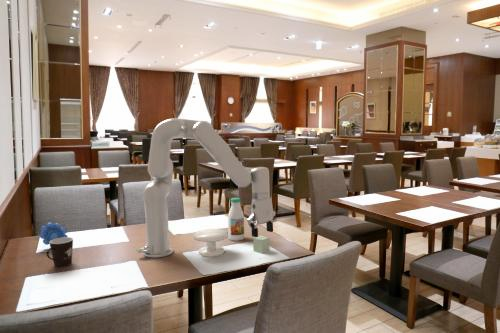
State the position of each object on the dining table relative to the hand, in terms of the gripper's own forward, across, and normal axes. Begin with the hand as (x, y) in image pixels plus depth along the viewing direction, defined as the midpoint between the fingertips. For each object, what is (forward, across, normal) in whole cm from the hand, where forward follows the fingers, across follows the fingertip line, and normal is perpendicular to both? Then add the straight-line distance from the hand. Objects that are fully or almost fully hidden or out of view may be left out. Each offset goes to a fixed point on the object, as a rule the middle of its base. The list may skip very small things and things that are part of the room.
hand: (262, 234), depth 169 cm
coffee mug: (+6, -68, +50) cm, 85 cm away
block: (+8, 0, 0) cm, 8 cm away
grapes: (+6, -60, +76) cm, 97 cm away
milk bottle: (+7, +4, +22) cm, 23 cm away
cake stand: (+7, -16, +16) cm, 24 cm away
